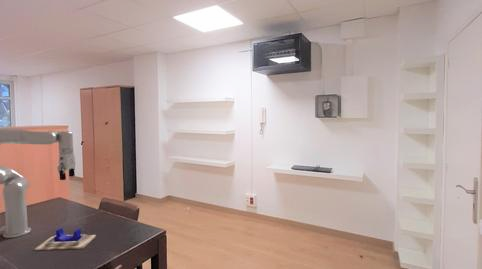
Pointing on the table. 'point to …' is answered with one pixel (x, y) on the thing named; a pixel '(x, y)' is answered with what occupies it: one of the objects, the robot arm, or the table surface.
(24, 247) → the table surface
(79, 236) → the blue curved piece
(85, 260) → the table surface
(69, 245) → the clip cradle
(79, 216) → the table surface
